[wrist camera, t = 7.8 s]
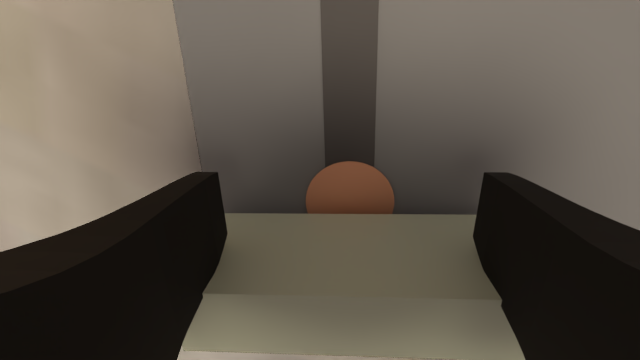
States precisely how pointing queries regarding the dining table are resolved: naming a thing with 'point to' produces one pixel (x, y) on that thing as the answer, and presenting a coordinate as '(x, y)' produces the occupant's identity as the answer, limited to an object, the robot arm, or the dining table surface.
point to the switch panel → (414, 102)
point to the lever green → (352, 289)
